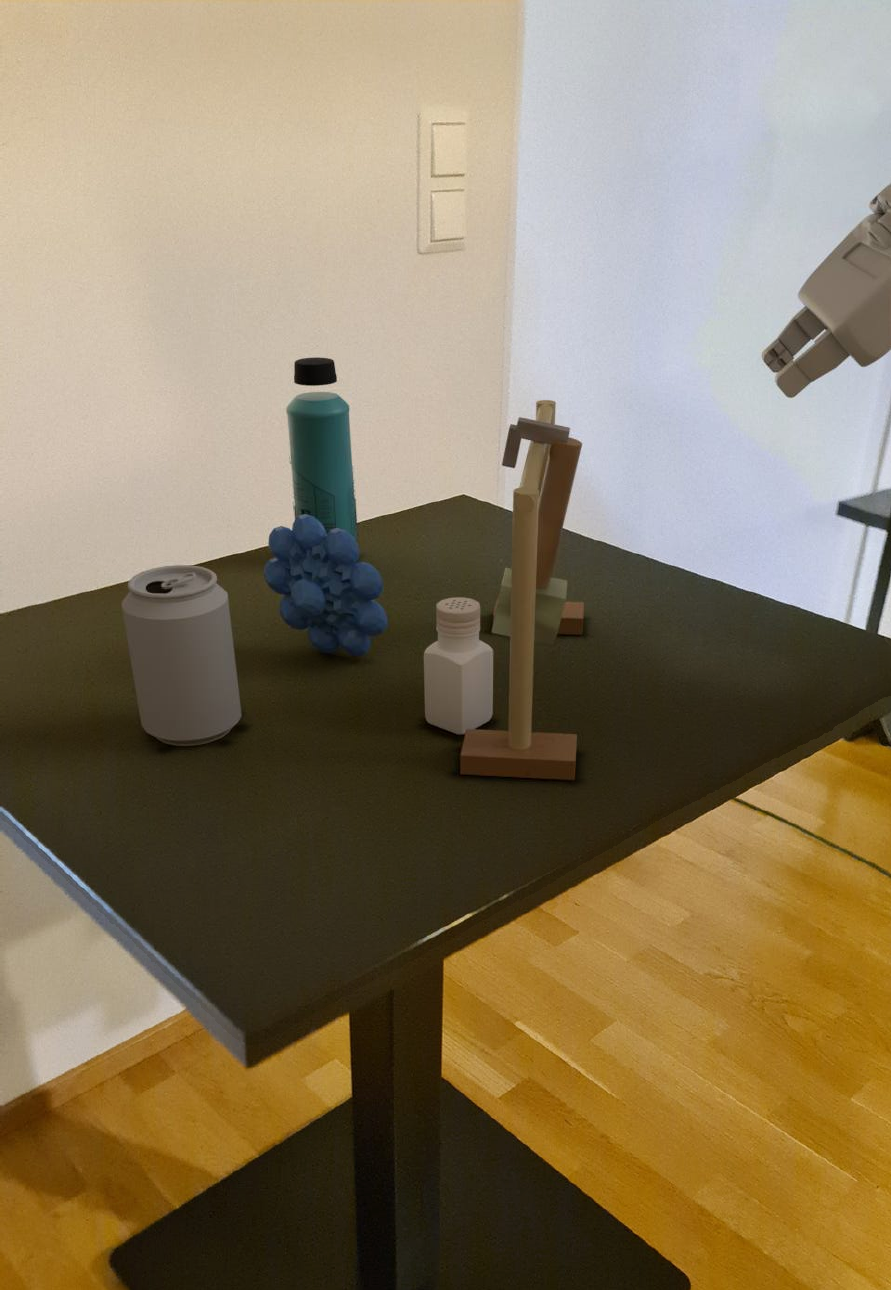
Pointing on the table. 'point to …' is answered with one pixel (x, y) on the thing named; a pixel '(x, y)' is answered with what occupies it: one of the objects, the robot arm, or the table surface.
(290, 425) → the beverage bottle
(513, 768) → the wooden dowel stand
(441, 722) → the pepper shaker
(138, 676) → the can
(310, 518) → the grapes
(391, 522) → the table surface
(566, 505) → the hook hanger stand
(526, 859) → the table surface
